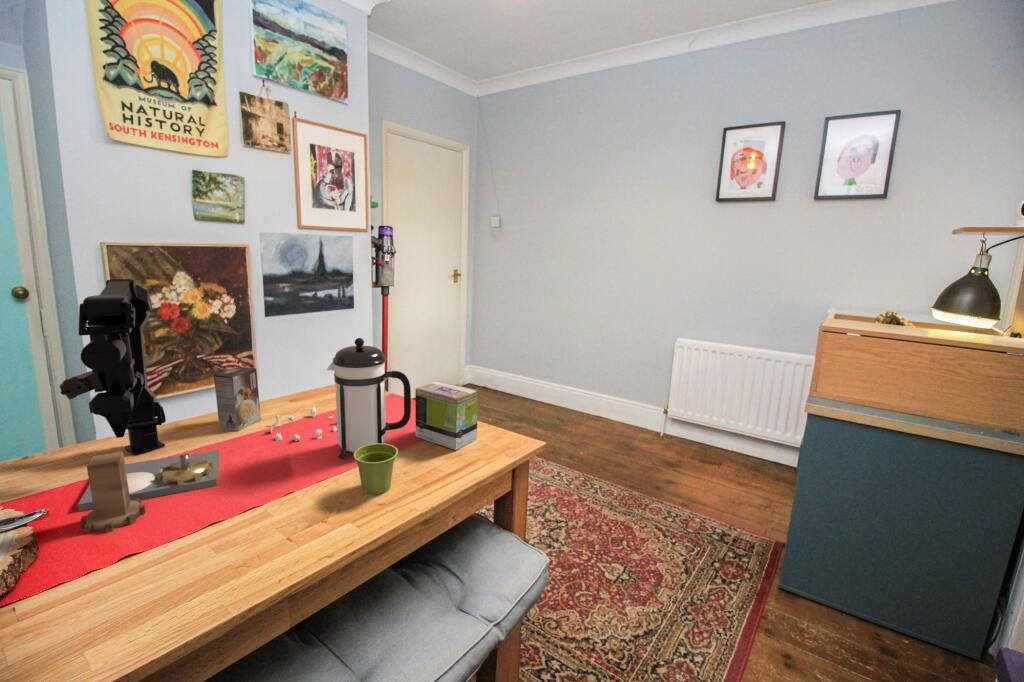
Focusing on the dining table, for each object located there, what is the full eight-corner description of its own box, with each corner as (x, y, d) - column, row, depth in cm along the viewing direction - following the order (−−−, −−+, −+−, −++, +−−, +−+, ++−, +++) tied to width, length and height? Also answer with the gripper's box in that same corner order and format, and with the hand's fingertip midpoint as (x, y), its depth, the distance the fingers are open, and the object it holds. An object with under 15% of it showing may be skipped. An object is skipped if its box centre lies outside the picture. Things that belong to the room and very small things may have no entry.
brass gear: (149, 476, 102) (146, 457, 101) (198, 459, 110) (196, 442, 110) (172, 490, 97) (170, 470, 96) (221, 471, 106) (219, 453, 105)
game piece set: (293, 414, 145) (292, 402, 144) (354, 420, 143) (353, 408, 142) (251, 439, 126) (250, 426, 126) (320, 447, 124) (319, 433, 123)
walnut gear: (89, 511, 91) (79, 453, 89) (149, 500, 96) (141, 444, 93) (75, 538, 83) (63, 475, 81) (141, 525, 88) (132, 464, 85)
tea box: (478, 439, 132) (479, 389, 129) (455, 451, 124) (456, 399, 121) (437, 426, 140) (438, 379, 137) (414, 437, 132) (413, 387, 128)
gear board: (99, 474, 105) (98, 467, 105) (219, 454, 116) (219, 448, 116) (79, 511, 91) (77, 503, 91) (217, 485, 103) (216, 478, 102)
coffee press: (361, 469, 112) (358, 348, 106) (319, 451, 121) (314, 338, 114) (412, 444, 127) (412, 336, 120) (372, 430, 135) (369, 328, 129)
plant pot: (406, 482, 107) (406, 447, 105) (382, 503, 99) (381, 465, 97) (371, 474, 110) (371, 440, 108) (345, 494, 101) (344, 457, 100)
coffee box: (243, 417, 140) (238, 365, 137) (261, 419, 139) (257, 367, 135) (218, 429, 131) (212, 374, 128) (238, 431, 130) (233, 376, 127)
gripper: (73, 350, 99) (84, 419, 103) (45, 374, 84) (60, 454, 87) (139, 346, 105) (148, 411, 108) (125, 368, 89) (135, 443, 93)
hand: (124, 428), depth 99 cm, fingers open, 9 cm apart
